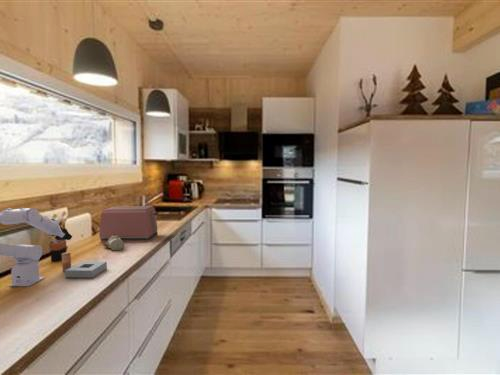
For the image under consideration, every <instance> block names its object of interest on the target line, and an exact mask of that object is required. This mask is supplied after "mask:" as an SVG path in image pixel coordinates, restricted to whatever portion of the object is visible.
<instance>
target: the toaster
mask: <svg viewBox="0 0 500 375" xmlns="http://www.w3.org/2000/svg"><path fill="white" fill-rule="evenodd" d="M157 214H158V212H157V211H156V209H155V207H154V206H153V205H146V206H145V205H139V206H137V205H134V206H127V205H125V206H111V207H108V208H104V209H103V210H102V211H101V212H100V219H99V220H100V221H99V235H98V236H99V239H100V243H102V242H103V243H108V239H109V238H110V237H111V236H113V235H114V234H116V235H117V236H118V237H119V238H120V239H121V240H122V241H123V242H124V243H149V241H150V242H153V240H155V239H156V238H157V237H158V222H157ZM154 238H155V239H154ZM103 243H102V244H103Z"/></svg>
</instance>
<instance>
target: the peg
mask: <svg viewBox="0 0 500 375" xmlns="http://www.w3.org/2000/svg"><path fill="white" fill-rule="evenodd" d="M71 257H72V256H71V252H70V251H66V252H65V253H62V260H61V264H62V265H61V266H62V267H61V268H62V272H63V273H65V270H67V269H68V268H70V267H72V258H71Z"/></svg>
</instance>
